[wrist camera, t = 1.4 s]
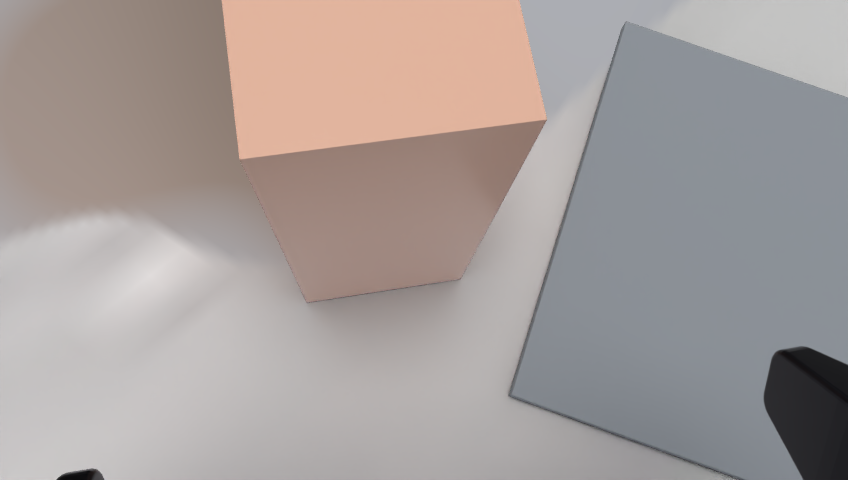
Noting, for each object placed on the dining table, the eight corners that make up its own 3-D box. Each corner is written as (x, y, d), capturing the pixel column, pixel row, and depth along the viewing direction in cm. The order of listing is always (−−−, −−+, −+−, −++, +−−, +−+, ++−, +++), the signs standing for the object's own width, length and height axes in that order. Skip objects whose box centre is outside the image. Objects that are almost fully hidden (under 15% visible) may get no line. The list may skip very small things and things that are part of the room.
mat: (938, 551, 22) (951, 553, 22) (508, 395, 22) (511, 394, 22) (988, 155, 26) (1000, 149, 25) (621, 28, 26) (626, 21, 26)
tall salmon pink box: (460, 279, 23) (546, 119, 12) (306, 302, 23) (239, 159, 11) (434, 138, 25) (489, -130, 13) (287, 157, 24) (210, -105, 12)
